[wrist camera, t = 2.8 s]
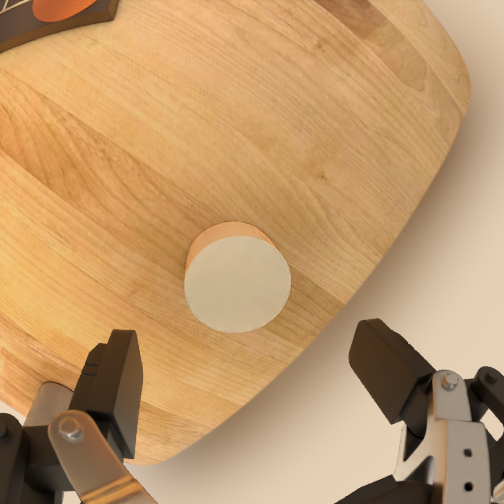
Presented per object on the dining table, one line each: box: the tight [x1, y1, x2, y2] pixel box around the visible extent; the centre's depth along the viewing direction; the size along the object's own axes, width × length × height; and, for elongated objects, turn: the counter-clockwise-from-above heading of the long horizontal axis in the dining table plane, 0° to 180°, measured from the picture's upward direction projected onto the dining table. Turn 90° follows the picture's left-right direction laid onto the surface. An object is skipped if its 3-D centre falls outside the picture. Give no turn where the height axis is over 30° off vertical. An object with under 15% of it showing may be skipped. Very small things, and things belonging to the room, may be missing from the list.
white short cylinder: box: [184, 222, 291, 333], centre depth 15 cm, size 5×5×3 cm
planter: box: [23, 382, 73, 502], centre depth 13 cm, size 4×4×10 cm
